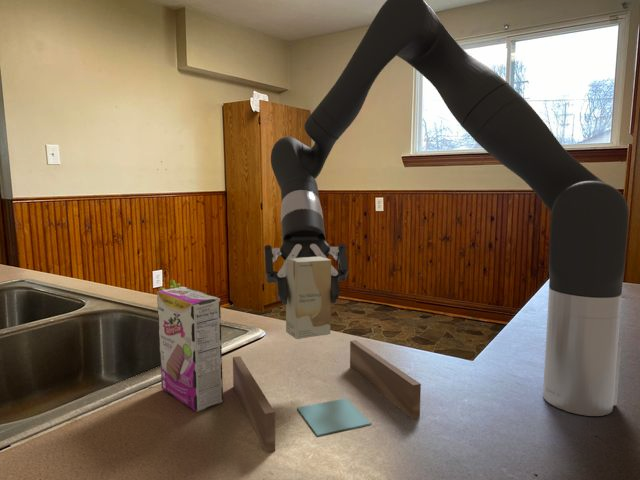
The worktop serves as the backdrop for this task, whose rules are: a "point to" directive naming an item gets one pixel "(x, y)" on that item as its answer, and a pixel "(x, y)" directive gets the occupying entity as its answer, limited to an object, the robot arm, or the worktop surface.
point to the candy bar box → (190, 347)
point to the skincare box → (308, 297)
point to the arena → (334, 412)
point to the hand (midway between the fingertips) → (309, 301)
